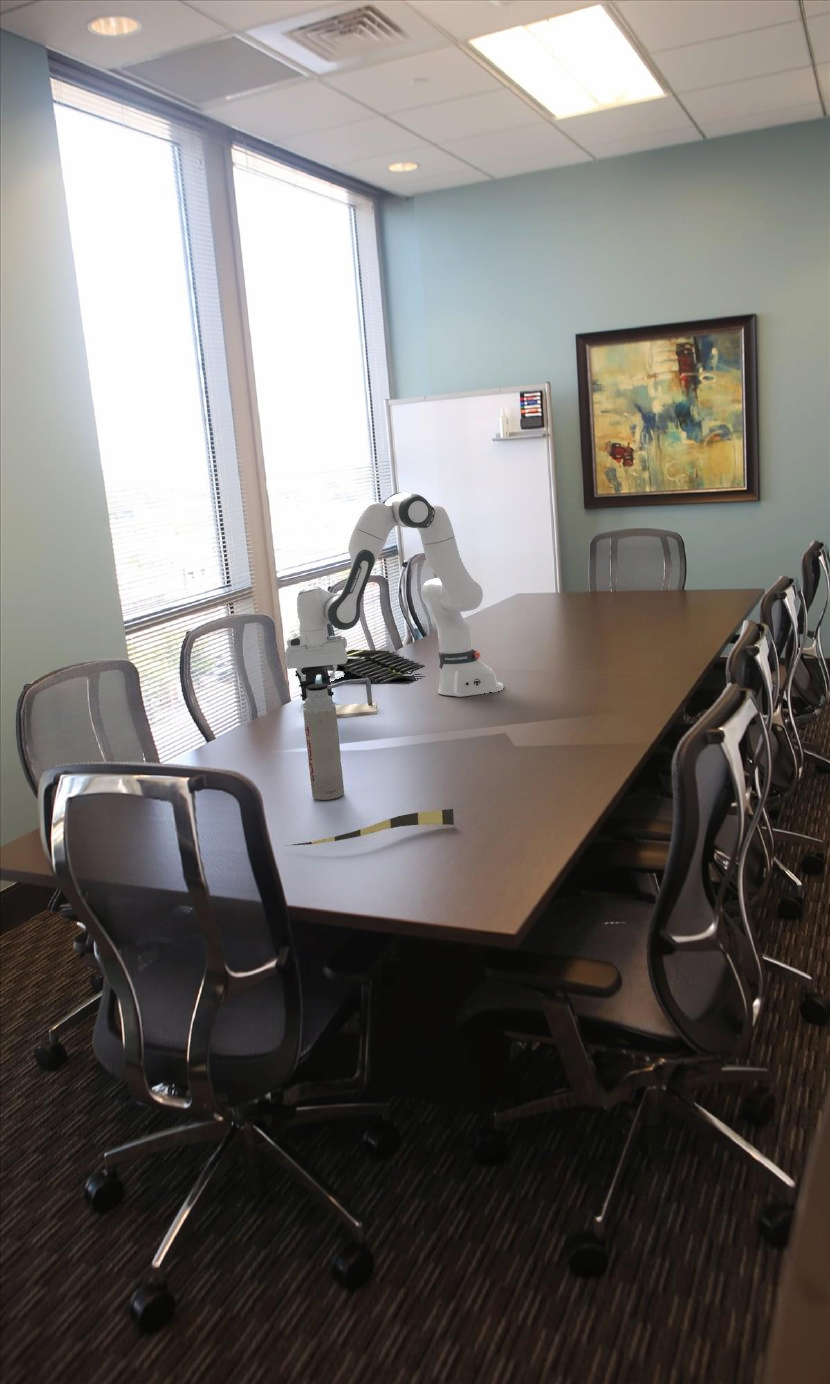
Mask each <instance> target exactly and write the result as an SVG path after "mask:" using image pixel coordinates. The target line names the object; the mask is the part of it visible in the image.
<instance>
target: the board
mask: <svg viewBox="0 0 830 1384" xmlns="http://www.w3.org/2000/svg"><path fill="white" fill-rule="evenodd" d="M372 703H373V705H370V706H369V705H368V702H361V703H352V704H341V705H335V706H336V715H337V719H340V718H348V717H358V716H367V715H377V714H378V713H377V711H378V710H377V702H376V701H375V702H374V701H372Z"/></svg>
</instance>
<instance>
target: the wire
mask: <svg viewBox="0 0 830 1384" xmlns="http://www.w3.org/2000/svg"><path fill="white" fill-rule="evenodd" d="M371 681H372V680H369V678H358V679H357V678H356V679H348V680H346V679H345V680H342V681H339V682H335V683H332V684H331V685H328V688H327V689H335V688H338V687H341V686H344V685H349V684H350V685H351V684H359V683H365V687H366V689H365V690H366V700H367V703H368V705H369V706H370V705H373V703H372V702H373V695H372V682H371ZM306 694H307V698H308V688H307V689H306Z"/></svg>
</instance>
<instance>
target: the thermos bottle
mask: <svg viewBox="0 0 830 1384" xmlns="http://www.w3.org/2000/svg"><path fill="white" fill-rule="evenodd" d="M307 688H308V698H307V699H305V701H304V705H305V707H303V709H302V711H303V722H304V728H305V729H304V731H305V740H306V741H305V742H306V750H307V755H308V757H307V758H308V768H309V769H308V770H309V779H310V787H311V796H312V798H313V799H316V800H334V799H337V798H340V797H342V796H343V795H345V786H344V777H343V776H344V775H343V767H342V761H341V760H342V759H341V747H340V737H339V727H338V718H337V715H336V706H337V705H335V704H333V703H334V701H333V696H332V697H331V696H329V695H328V690H327V688H328V686H327V684H313V685H309V686H308V687H307Z"/></svg>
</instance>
